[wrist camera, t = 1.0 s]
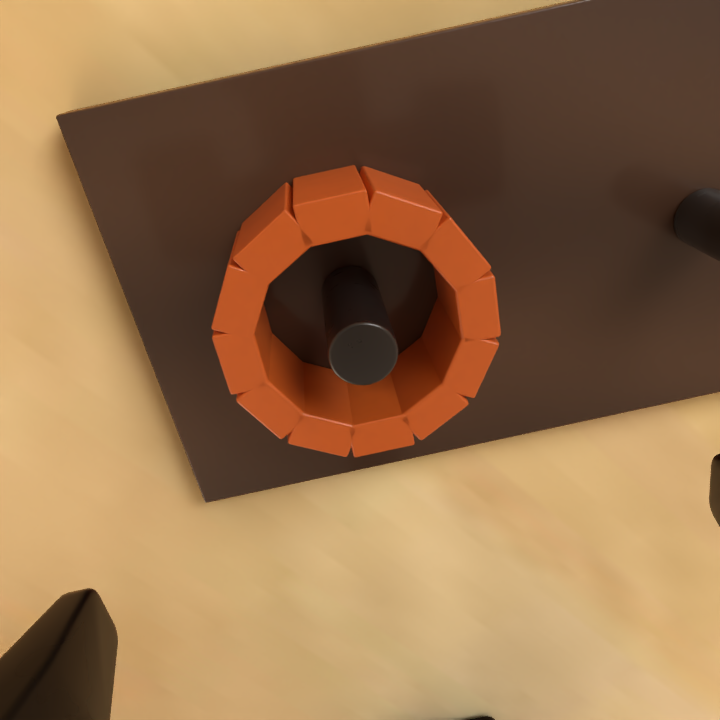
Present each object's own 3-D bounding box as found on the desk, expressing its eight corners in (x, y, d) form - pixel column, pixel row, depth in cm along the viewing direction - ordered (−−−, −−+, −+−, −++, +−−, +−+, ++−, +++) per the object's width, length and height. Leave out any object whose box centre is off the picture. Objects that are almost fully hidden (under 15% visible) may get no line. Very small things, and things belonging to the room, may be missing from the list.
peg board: (853, 345, 22) (996, 425, 17) (208, 484, 22) (186, 599, 18) (924, -78, 16) (1160, -119, 12) (67, 111, 17) (-17, 140, 12)
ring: (482, 372, 20) (511, 424, 17) (262, 419, 20) (257, 479, 17) (453, 142, 17) (484, 163, 14) (194, 199, 17) (175, 230, 14)
